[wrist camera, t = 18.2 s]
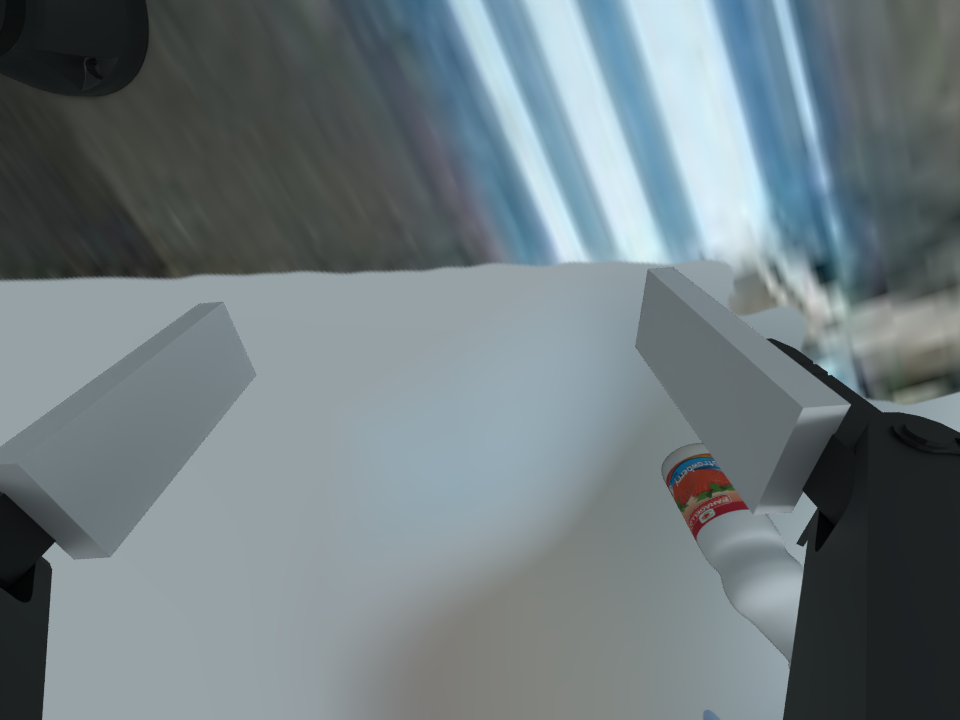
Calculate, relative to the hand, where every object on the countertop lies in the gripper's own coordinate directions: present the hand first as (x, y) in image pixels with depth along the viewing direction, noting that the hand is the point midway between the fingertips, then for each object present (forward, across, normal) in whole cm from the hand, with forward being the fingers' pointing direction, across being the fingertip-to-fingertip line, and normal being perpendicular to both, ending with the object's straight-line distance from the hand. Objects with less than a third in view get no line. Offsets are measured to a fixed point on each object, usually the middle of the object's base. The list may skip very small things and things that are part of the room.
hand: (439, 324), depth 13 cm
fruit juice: (+32, +32, -44) cm, 63 cm away
